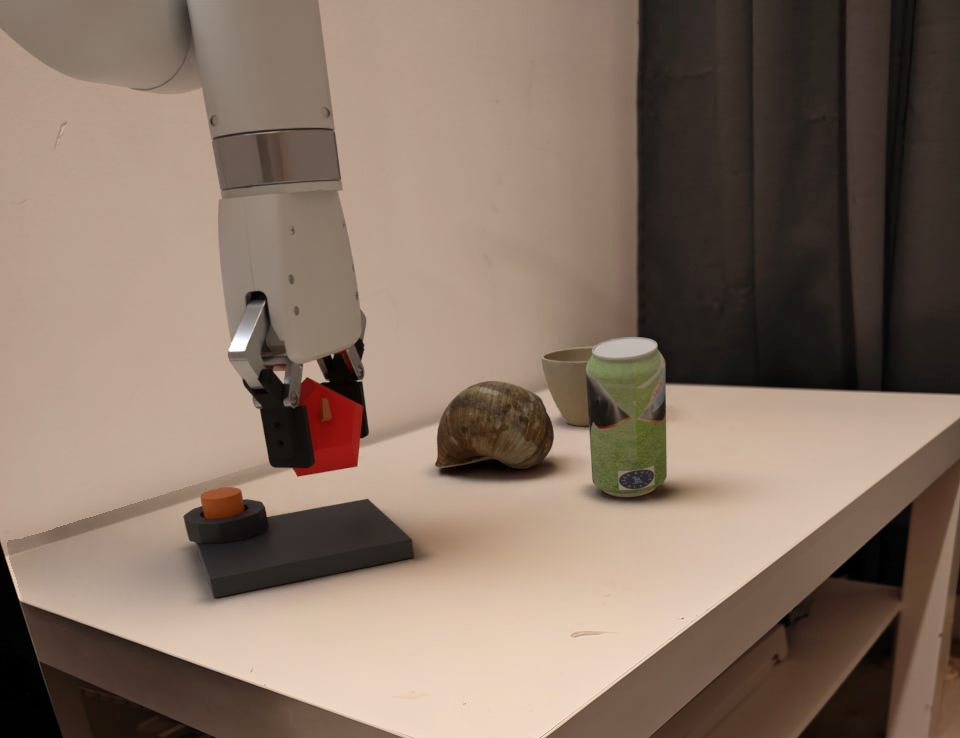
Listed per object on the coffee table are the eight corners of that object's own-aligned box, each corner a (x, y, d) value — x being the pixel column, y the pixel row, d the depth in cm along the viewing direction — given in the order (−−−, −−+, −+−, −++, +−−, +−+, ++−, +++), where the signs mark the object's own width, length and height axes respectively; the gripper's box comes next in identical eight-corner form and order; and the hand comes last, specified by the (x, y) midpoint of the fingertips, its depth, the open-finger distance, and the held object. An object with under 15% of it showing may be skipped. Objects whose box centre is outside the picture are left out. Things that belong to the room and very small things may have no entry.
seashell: (574, 461, 86) (571, 373, 83) (516, 488, 80) (509, 393, 77) (479, 451, 93) (472, 369, 90) (417, 475, 87) (407, 387, 83)
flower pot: (554, 435, 97) (551, 364, 94) (537, 416, 106) (533, 351, 103) (648, 425, 97) (648, 354, 94) (623, 407, 106) (622, 342, 103)
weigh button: (207, 524, 68) (202, 501, 68) (202, 514, 71) (197, 491, 70) (248, 516, 69) (243, 494, 69) (242, 507, 72) (238, 484, 71)
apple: (259, 387, 67) (270, 357, 60) (353, 393, 69) (375, 365, 62) (261, 483, 67) (272, 465, 60) (354, 486, 69) (376, 469, 62)
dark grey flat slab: (207, 599, 62) (197, 557, 61) (188, 545, 73) (180, 508, 72) (414, 557, 66) (409, 517, 65) (367, 511, 77) (362, 476, 76)
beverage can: (663, 478, 79) (664, 330, 74) (671, 503, 73) (672, 344, 68) (589, 481, 80) (584, 336, 75) (589, 507, 73) (585, 349, 68)
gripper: (296, 175, 67) (333, 423, 74) (139, 176, 52) (204, 485, 59) (392, 165, 64) (419, 423, 72) (255, 163, 49) (308, 487, 57)
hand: (321, 449), depth 65 cm, fingers closed on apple, 7 cm apart
